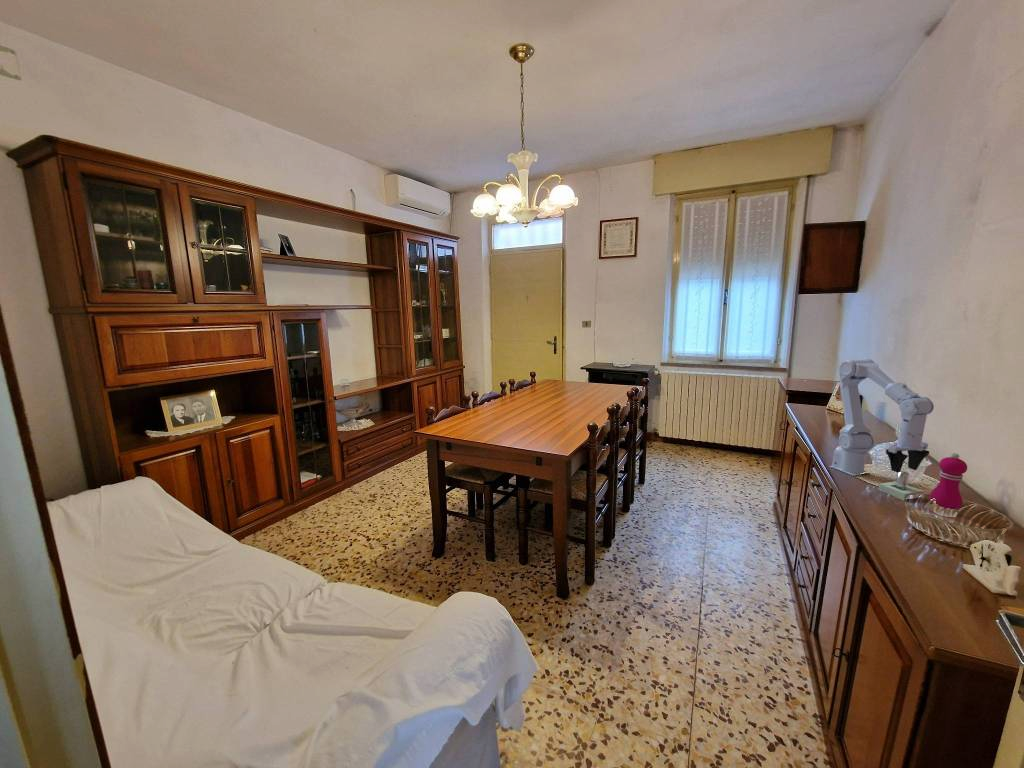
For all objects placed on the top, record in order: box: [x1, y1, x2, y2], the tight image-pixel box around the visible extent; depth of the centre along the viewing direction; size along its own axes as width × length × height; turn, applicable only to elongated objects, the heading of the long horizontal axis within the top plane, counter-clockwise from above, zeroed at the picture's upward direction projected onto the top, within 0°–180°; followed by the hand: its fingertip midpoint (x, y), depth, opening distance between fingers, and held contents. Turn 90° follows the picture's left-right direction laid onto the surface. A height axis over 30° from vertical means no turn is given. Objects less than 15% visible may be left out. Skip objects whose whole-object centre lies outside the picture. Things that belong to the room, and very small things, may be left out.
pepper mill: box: [929, 452, 968, 509], centre depth 129 cm, size 7×7×20 cm
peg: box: [895, 470, 910, 491], centre depth 143 cm, size 3×3×8 cm
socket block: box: [877, 480, 924, 502], centre depth 144 cm, size 8×8×2 cm
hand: (903, 470), depth 142 cm, fingers open, 7 cm apart
